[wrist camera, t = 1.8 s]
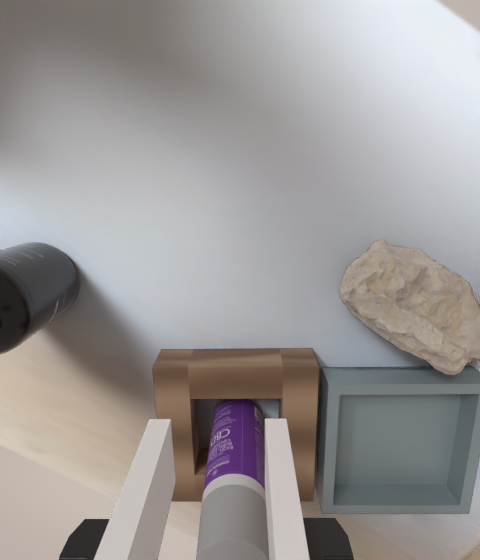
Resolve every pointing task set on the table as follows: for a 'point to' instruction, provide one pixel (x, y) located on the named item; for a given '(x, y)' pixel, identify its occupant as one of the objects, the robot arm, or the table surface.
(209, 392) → the block
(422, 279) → the stone
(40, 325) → the supplement bottle
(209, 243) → the table surface
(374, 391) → the tray
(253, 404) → the container
